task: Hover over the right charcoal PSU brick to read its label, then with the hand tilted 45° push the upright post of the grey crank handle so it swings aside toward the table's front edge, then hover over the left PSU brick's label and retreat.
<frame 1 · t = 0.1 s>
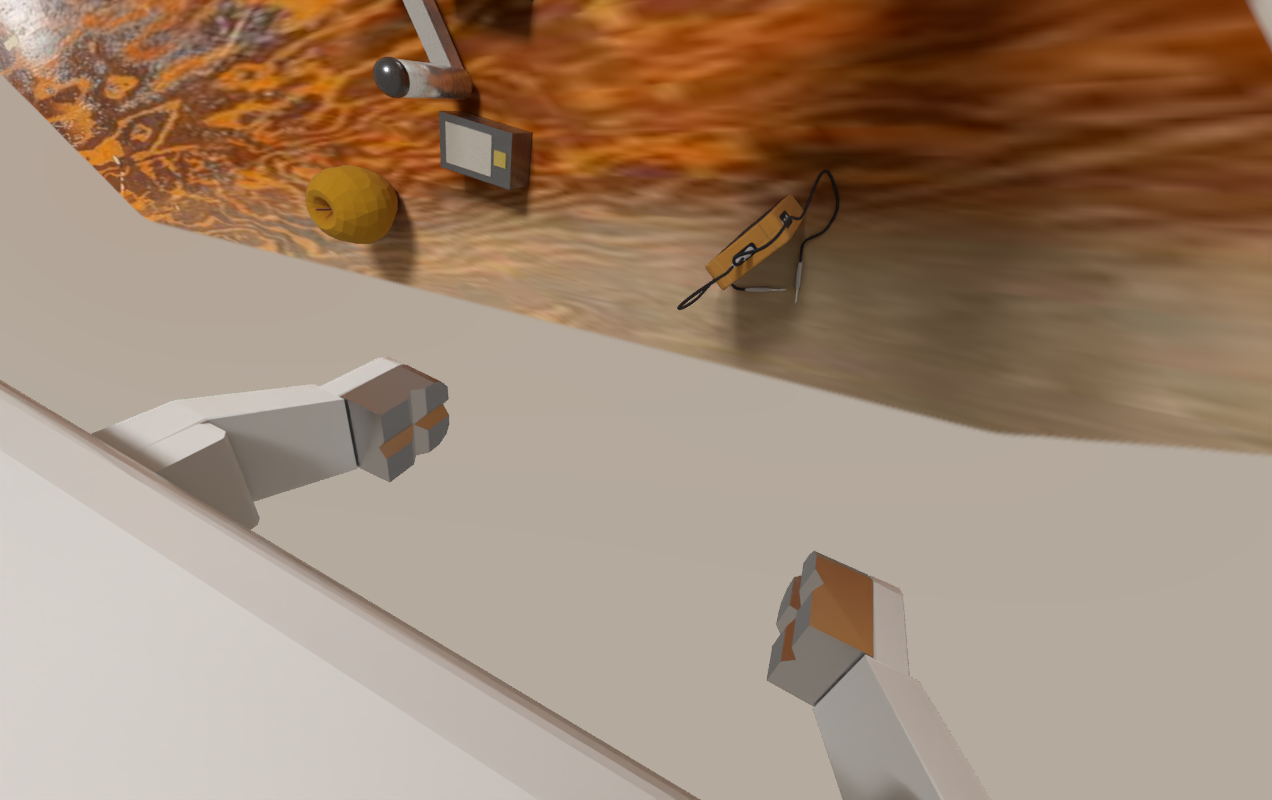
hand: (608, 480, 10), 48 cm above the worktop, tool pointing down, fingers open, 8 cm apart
apple: (390, 199, 69), on the worktop
psu a: (495, 149, 59), on the worktop
multimeter: (790, 252, 52), on the worktop
grey crank handle: (388, 2, 48), point 7 cm above the worktop, hinge at 0.0°
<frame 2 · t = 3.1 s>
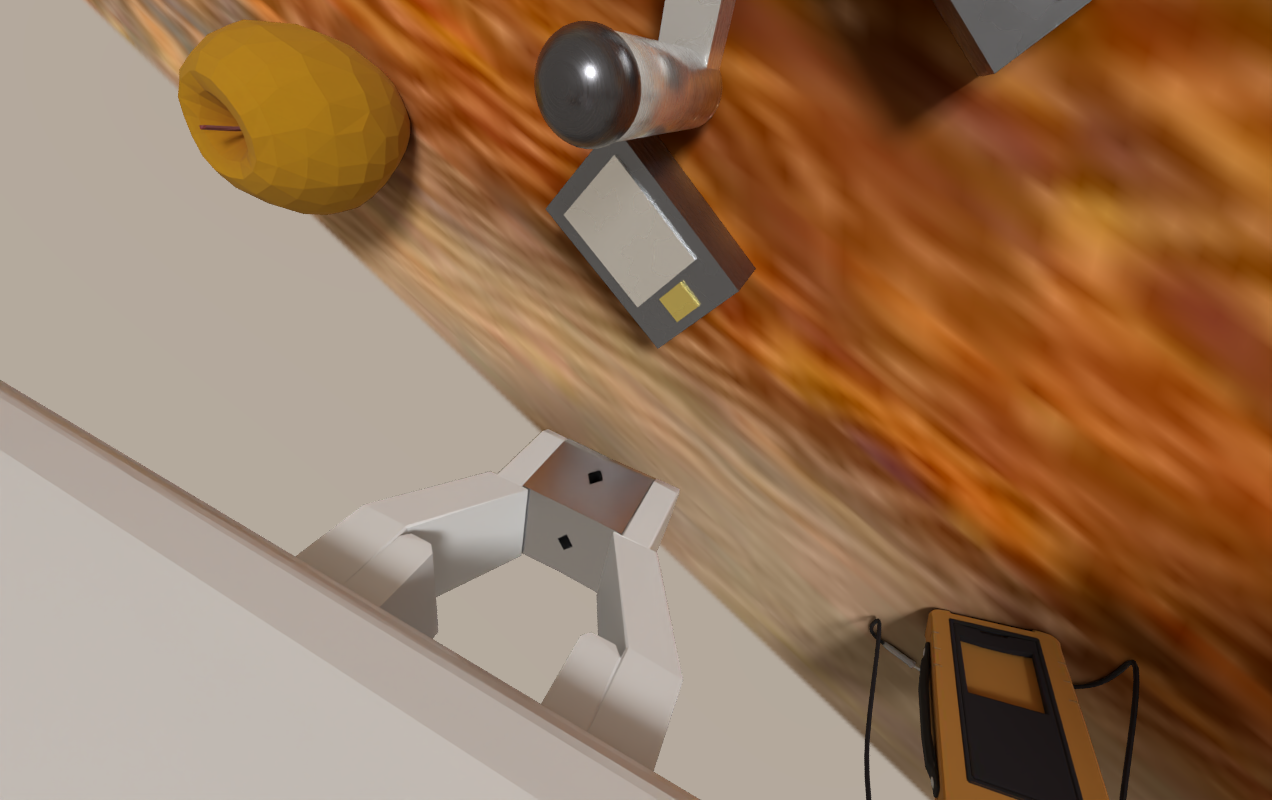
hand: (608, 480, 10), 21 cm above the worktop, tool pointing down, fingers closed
apple: (392, 120, 33), on the worktop
psu a: (665, 231, 28), on the worktop
multimeter: (978, 659, 35), on the worktop
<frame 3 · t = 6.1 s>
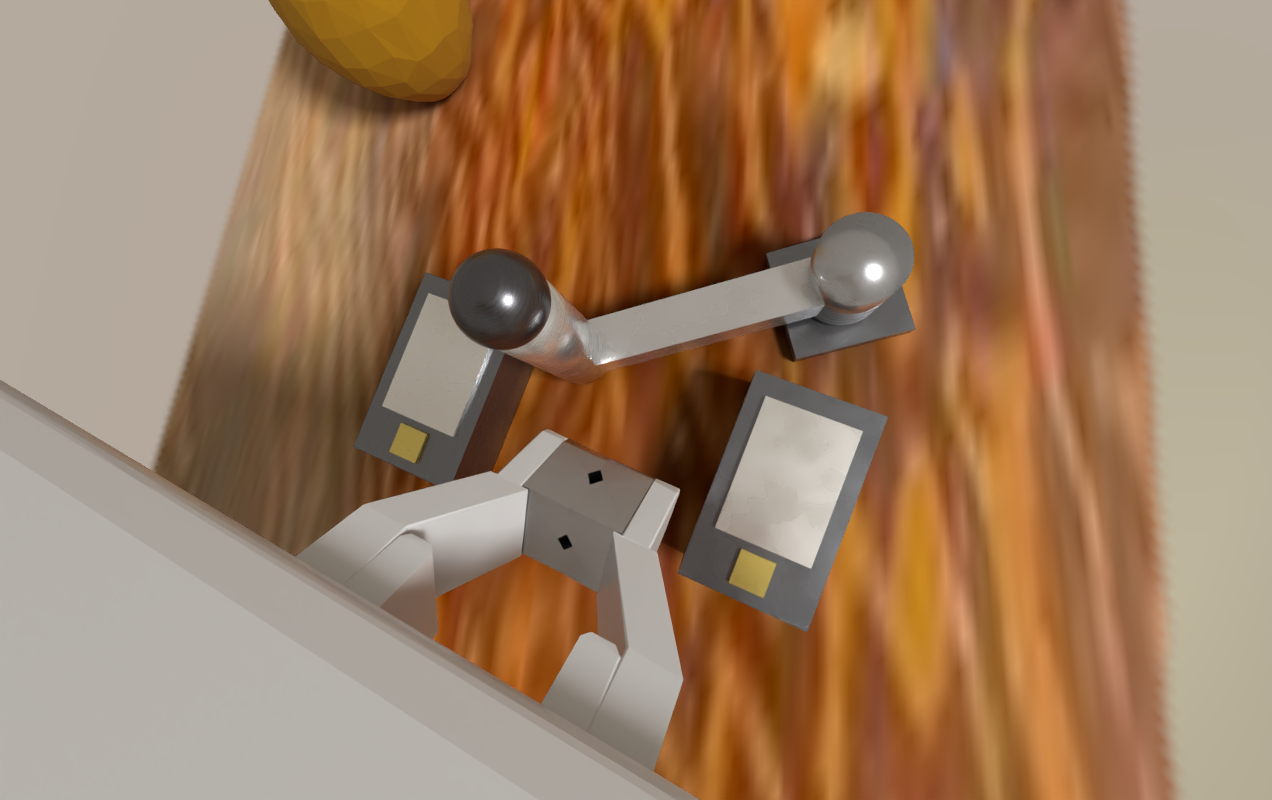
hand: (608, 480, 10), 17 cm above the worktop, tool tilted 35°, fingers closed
psu b: (770, 488, 25), on the worktop
apple: (438, 78, 31), on the worktop
psu a: (475, 387, 29), on the worktop
arm mount: (834, 294, 26), on the worktop
grey crank handle: (707, 284, 19), point 7 cm above the worktop, hinge at 0.0°
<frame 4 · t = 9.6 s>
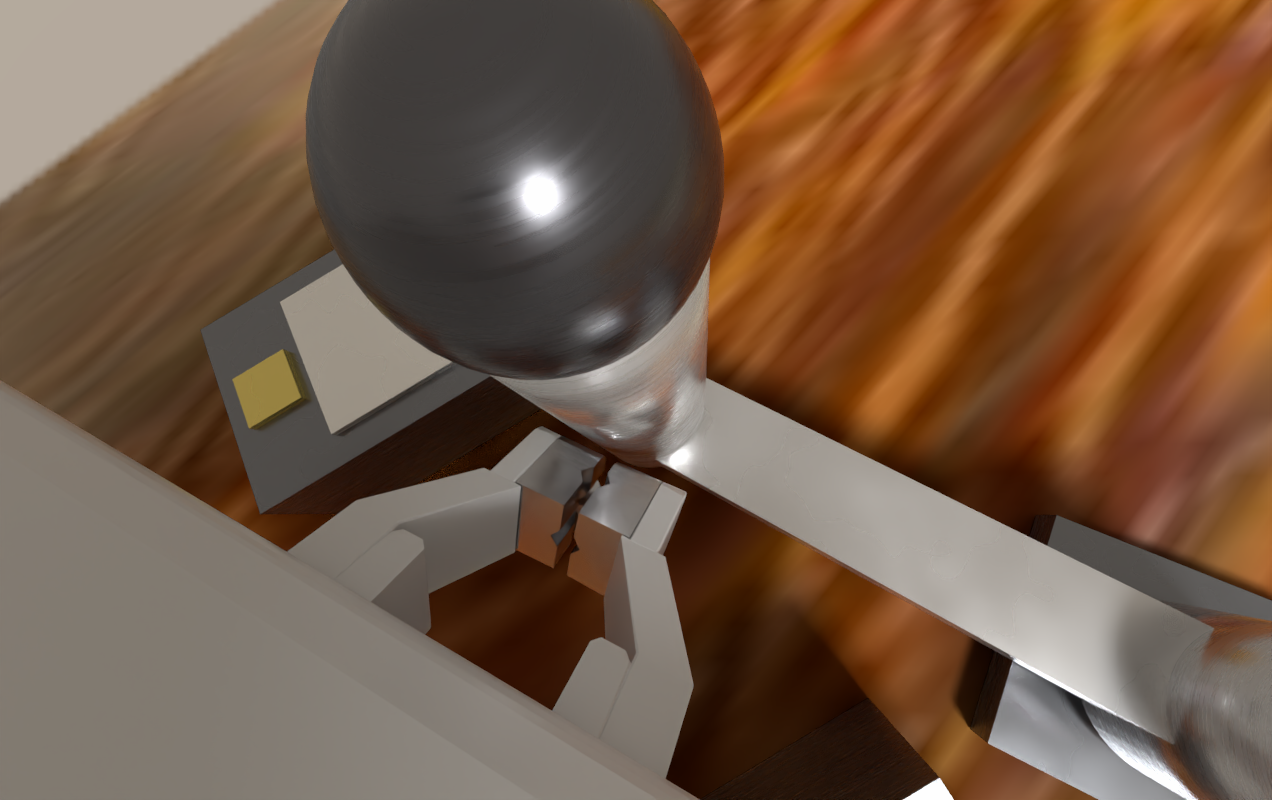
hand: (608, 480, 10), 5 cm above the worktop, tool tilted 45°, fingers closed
psu a: (458, 365, 17), on the worktop
arm mount: (1128, 673, 12), on the worktop
grey crank handle: (1039, 561, 7), point 7 cm above the worktop, hinge at -4.7°, touching gripper
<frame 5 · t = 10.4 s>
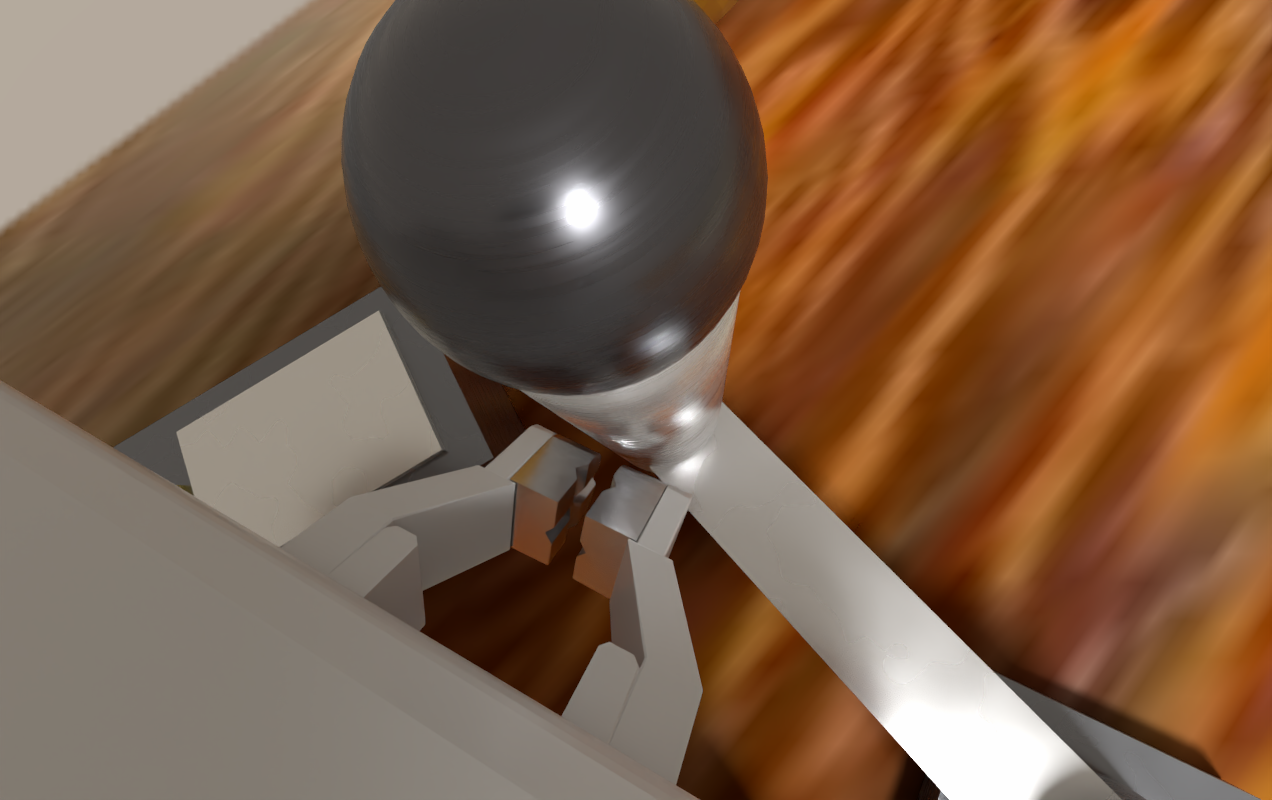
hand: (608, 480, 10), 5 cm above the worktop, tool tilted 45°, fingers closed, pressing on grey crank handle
apple: (667, 11, 19), on the worktop
psu a: (382, 469, 16), on the worktop
grey crank handle: (981, 712, 6), point 7 cm above the worktop, hinge at -23.1°, touching gripper
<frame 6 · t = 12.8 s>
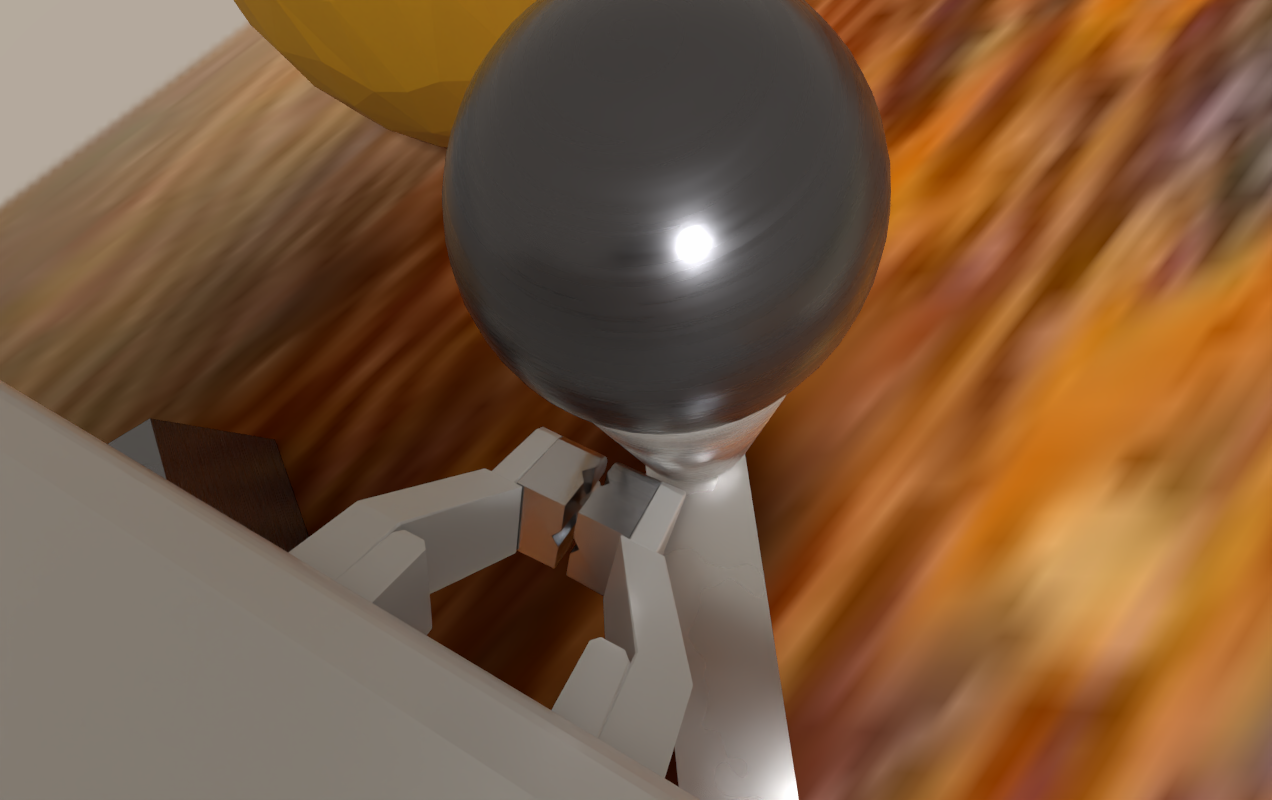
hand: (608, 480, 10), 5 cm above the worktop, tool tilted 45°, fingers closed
apple: (492, 111, 19), on the worktop
psu a: (176, 588, 16), on the worktop
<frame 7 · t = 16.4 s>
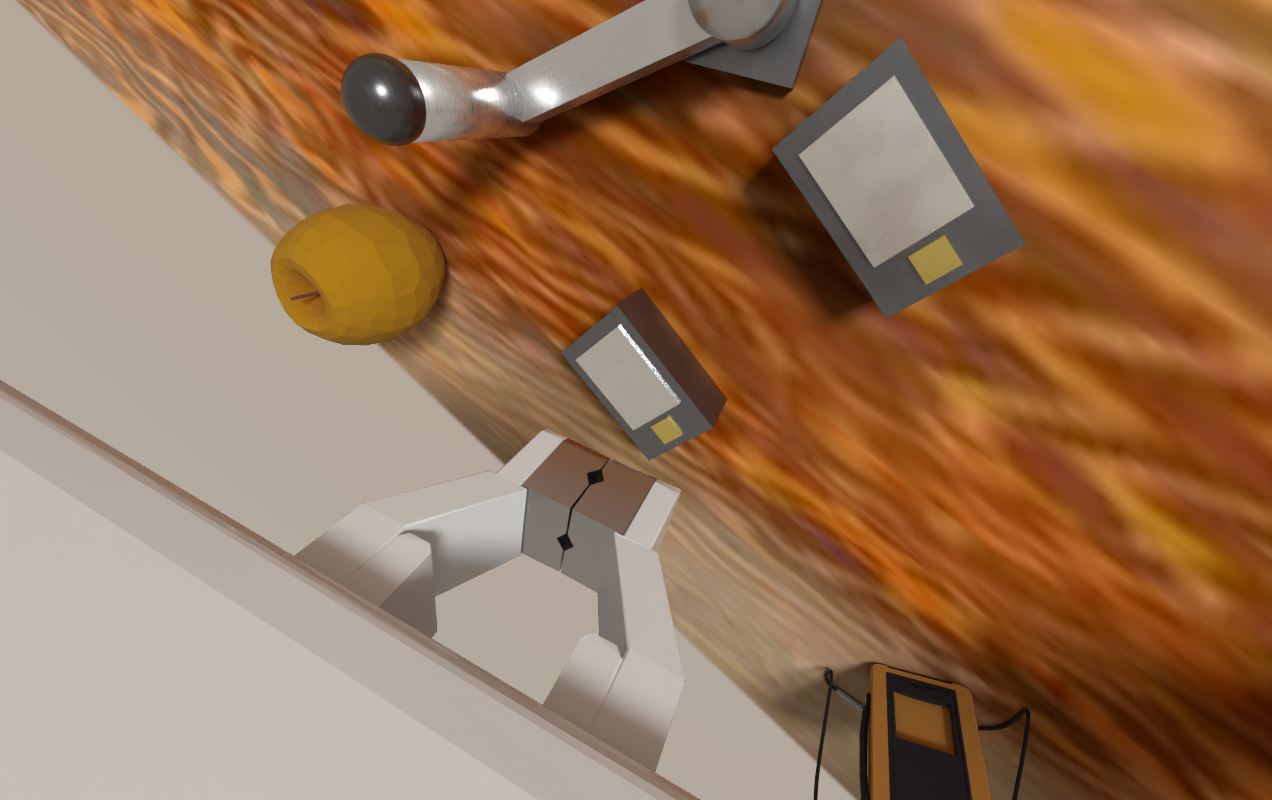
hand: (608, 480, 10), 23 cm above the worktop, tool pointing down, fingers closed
psu b: (889, 184, 25), on the worktop
apple: (428, 257, 39), on the worktop
psu a: (655, 364, 35), on the worktop
multimeter: (912, 704, 42), on the worktop
arm mount: (757, 2, 23), on the worktop
grey crank handle: (570, 43, 21), point 7 cm above the worktop, hinge at -59.6°
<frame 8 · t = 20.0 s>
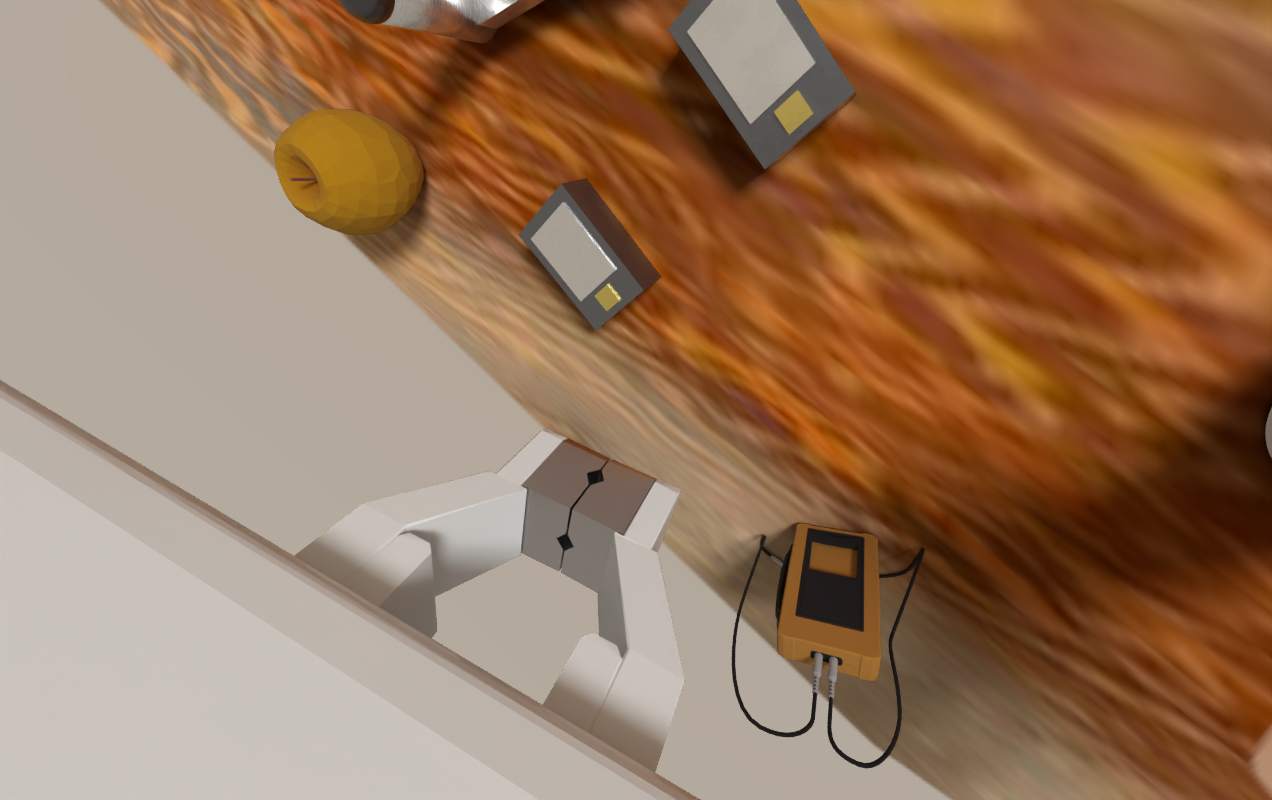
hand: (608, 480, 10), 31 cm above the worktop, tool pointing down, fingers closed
psu b: (769, 65, 31), on the worktop
apple: (410, 168, 45), on the worktop
psu a: (601, 250, 41), on the worktop
multimeter: (834, 562, 48), on the worktop
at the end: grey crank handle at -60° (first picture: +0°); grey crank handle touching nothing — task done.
